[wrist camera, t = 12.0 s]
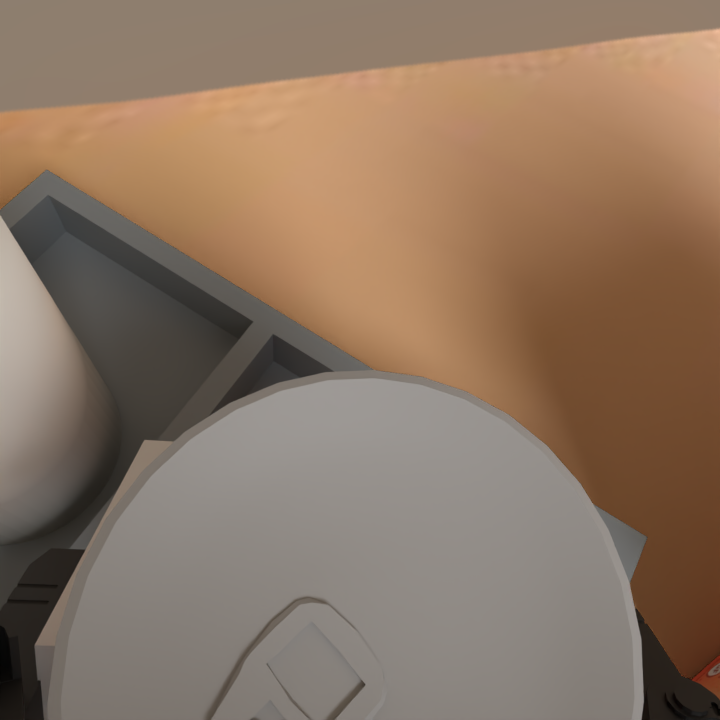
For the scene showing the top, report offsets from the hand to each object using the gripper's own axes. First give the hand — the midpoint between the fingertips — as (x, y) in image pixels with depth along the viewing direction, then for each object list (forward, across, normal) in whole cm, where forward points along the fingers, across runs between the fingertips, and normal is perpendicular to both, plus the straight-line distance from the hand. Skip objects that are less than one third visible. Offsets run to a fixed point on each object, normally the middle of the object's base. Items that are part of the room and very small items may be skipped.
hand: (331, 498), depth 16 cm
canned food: (0, 0, -5) cm, 5 cm away
